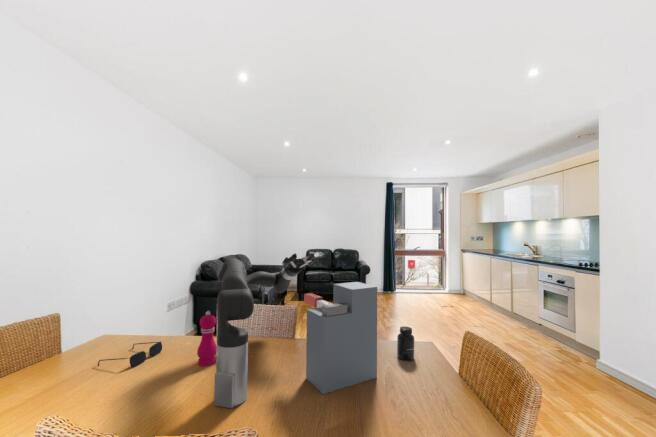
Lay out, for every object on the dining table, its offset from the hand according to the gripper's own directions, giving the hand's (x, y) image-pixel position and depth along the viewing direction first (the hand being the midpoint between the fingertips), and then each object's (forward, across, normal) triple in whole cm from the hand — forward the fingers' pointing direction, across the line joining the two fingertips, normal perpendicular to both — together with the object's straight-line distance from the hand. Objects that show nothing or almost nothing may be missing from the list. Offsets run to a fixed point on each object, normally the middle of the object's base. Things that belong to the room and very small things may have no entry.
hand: (304, 254), depth 135 cm
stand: (+6, 0, +51) cm, 51 cm away
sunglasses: (-42, -64, +24) cm, 80 cm away
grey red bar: (+13, -6, +27) cm, 31 cm away
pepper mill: (-26, -39, +33) cm, 57 cm away
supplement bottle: (+4, +32, +50) cm, 60 cm away
